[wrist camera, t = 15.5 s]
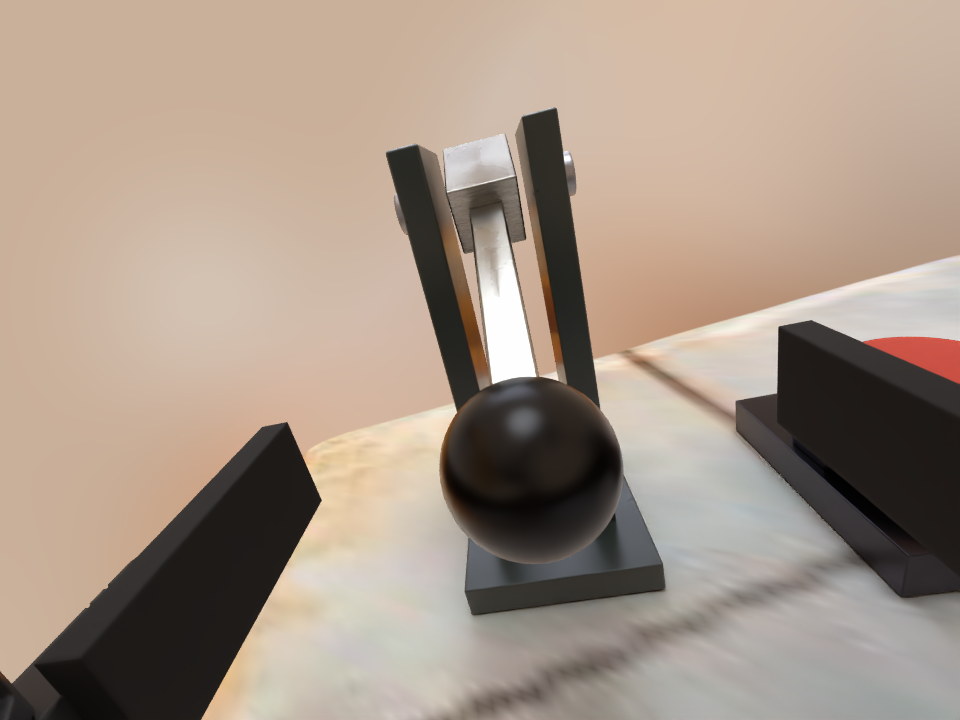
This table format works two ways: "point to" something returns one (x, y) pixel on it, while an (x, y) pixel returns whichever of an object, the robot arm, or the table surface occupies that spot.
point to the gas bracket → (548, 186)
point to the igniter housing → (844, 505)
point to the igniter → (924, 353)
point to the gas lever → (518, 397)
